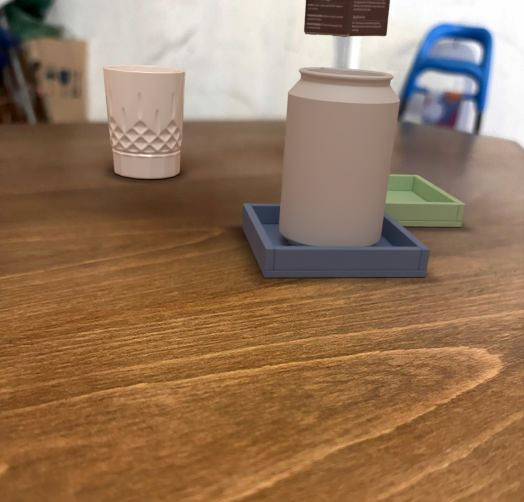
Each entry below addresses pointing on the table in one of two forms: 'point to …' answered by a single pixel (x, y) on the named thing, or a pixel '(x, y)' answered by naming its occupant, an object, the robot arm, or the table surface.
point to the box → (346, 17)
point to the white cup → (145, 119)
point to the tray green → (421, 203)
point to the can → (337, 157)
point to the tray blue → (331, 251)
